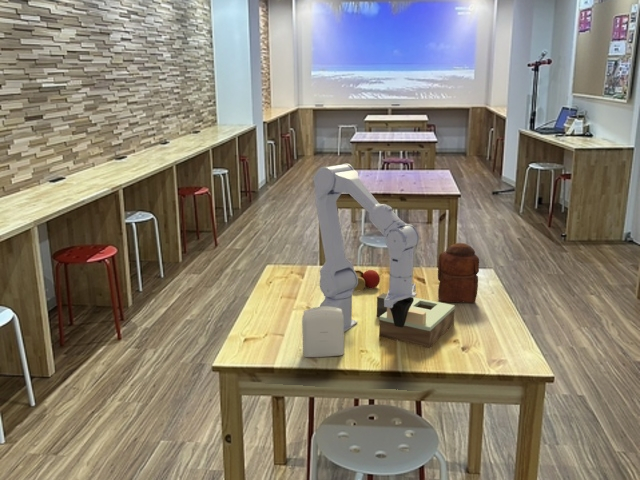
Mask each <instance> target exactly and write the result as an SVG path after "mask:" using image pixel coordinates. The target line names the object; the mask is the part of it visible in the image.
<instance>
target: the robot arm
mask: <svg viewBox="0 0 640 480" xmlns="http://www.w3.org/2000/svg"><path fill="white" fill-rule="evenodd" d="M312 178H313V183H314V202H315V206H316V214H317V218H318V225H319V230H320V231H319V232H320V237H321V241H322V247H323V252H324V259H325V262H324V263H323V264H322V266H321V268H320V269H319V278H320V279H319V283H318V284H319V288H320V291H321V293H322V295H323V296H324V299H323V301H322V302H321V303H320V305H319V307H324V306H327V307H335V308H339V309H341V310H342V313H343V316H344V333H345V332H346V331H348V330H350V329H351V328H352V327H353V326H355V325H356V324H358V320H354V319H353V318H352V316H353V315H352V313H353V312H352V311H353V302H352V301H353V298H352V297H353V293H354V291H355V290H354V288H355V287H356V286H357V284H358V277H357V274H356V272H355V271H354V270H355V269H354V263H353V262H351V261H350V260H349V259H348V258H346V252H345V247H344V246H345V245H344V242H343V241H344V240H343V235H342V230H341V229H342V227H341V224H340V217H339V212H338V206H337V200H338V199H339V198H340V196H341V195H342V194H349V195H350V196H351V197H352V198H353V200H354V201H356V202H357V203H358V204H359V205H360V206H361V207H362V208H363V209H364V210H365V211H366V212H367V213H369V214H368V219H369V222H370V223H372V224H373V225H374V227H375V228H376V229H377V230H378V231H379V232H380V233H381V234H382V236H384V238H385V239H384V240H385V241H384V242H385V245H386V247H387V249H388V255H389V275H388V277H389V278H388V279H389V283H388V284H389V285H388V290H387V293H386V294H387V297H386V298H385V299H384V307H388V308H390V310H391V313H392V316H393V321H394V325H395V326H397V327H403V326H404V324H405V321H406V317H407V314H408V311H409V309H410V306H411V305H412V303H413V301H414V299H413V298H416V297H417V295H418V294H417V292H416V287H417V285H416V283H413V277H414V276H413V275H414V259H415V258H414V252H415V247H416V246H417V245H418V244H419V242H420V235H419V232H418V230H417V229H416V227H415V226H414V225H413V224H411V223H410V224H409V223H406V222H405V221H403V220H401V218H400V217H399V216H398V215H397V214H396V213H395V212H394V211H393V207H391V206H390V205H388V204H386V203H379V201H378V200H377V199H376V198H375V197H374V195H373V193H371V192H370V190H369V189H368V187H367V186H366V185H365V184H364V183H363V181H362V180H361V179H360V177H359V172H358V171H357V170H355V169H354V167H353V166H352V165H351V164H350V163H342V164H337V165H331V166H322V167H319V168H318V169H317V171H316V172H315V174H314V175H313V177H312ZM411 297H412V298H411Z"/></svg>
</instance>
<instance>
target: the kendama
mask: <svg viewBox="0 0 640 480" xmlns="http://www.w3.org/2000/svg"><path fill="white" fill-rule="evenodd" d="M354 271H355V272H356V274H357V277H358V284H357V286H356V287H355V288H354V290H353V291H356V292H358V291H359V292H360V291H363V290H364V289H365V288H367V289H374V288H376V287H378V285H379V283H380V281H381V277H380V274H379V273H378V272H377V271H376V270H373V269H368V270H366V271H364V272H363V271H362V270H360V269H354Z"/></svg>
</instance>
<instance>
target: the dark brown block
mask: <svg viewBox="0 0 640 480" xmlns="http://www.w3.org/2000/svg"><path fill="white" fill-rule="evenodd" d="M386 297H387V293H385V292H382V293H381V294H380V295H378V296H377V297H376V318H380V316H381V315H382V314H384V313H385V312H387V307H384V299H385V298H386Z"/></svg>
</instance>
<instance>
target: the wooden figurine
mask: <svg viewBox="0 0 640 480" xmlns="http://www.w3.org/2000/svg"><path fill="white" fill-rule="evenodd" d="M475 253H476V251H475V249H474V248H473V247H472V246H471V245H469V244H467V243H462V242H459V243H458V242H457V243H453V244H451V245H449V246H448V247H447V248H446V249H445V251H443V252H441V253H439V256H438V259H437V260H438V261H437V264H438V265H437V279H438V281H439V284H438V288H437V291H438V292H437V295H438V296H437V298H438V300H439V301H441V302H444V303H446V302H447V303H465V304H466V303H468V304H474V303H476V300H477V295H478V289H479V276H478V274H479V272H480V267H479V266H480V258H479V257H478V256H477V255H476V254H475Z"/></svg>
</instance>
